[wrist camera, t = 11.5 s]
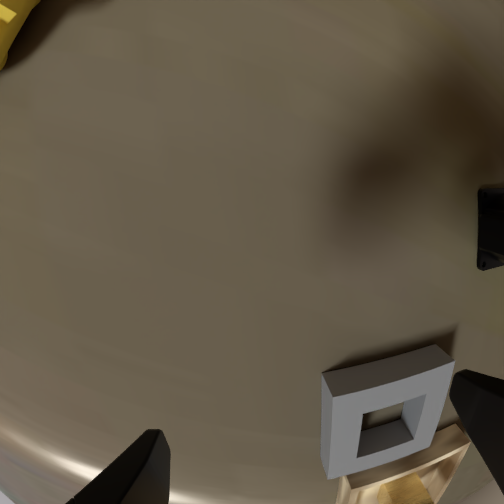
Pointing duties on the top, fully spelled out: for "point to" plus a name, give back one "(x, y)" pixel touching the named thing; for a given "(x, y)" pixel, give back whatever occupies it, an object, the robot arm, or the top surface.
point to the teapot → (12, 23)
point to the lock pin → (404, 491)
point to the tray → (410, 469)
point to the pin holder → (377, 397)
